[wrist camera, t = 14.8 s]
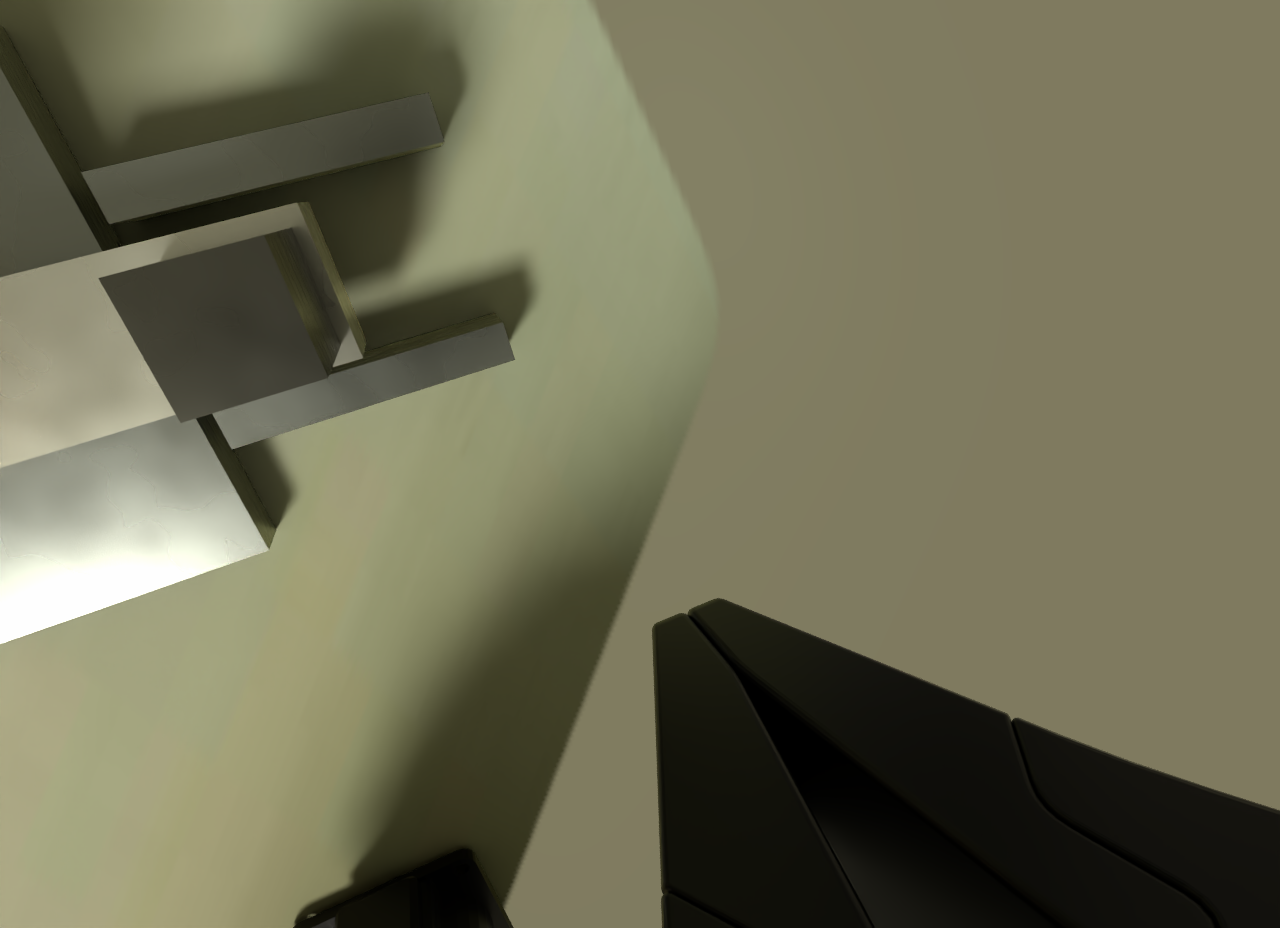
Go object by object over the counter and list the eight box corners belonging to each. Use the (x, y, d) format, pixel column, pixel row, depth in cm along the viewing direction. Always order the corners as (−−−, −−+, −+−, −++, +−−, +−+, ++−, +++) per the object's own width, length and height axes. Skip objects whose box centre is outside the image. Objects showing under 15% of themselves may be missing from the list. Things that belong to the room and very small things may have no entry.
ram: (366, 340, 16) (355, 393, 12) (-57, 466, 15) (-254, 584, 10) (308, 201, 15) (272, 203, 11) (-165, 321, 13) (-448, 384, 9)
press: (536, 440, 20) (564, 489, 17) (-229, 703, 16) (-392, 835, 13) (378, -43, 15) (373, -113, 12) (-789, 175, 11) (-1296, 165, 8)
